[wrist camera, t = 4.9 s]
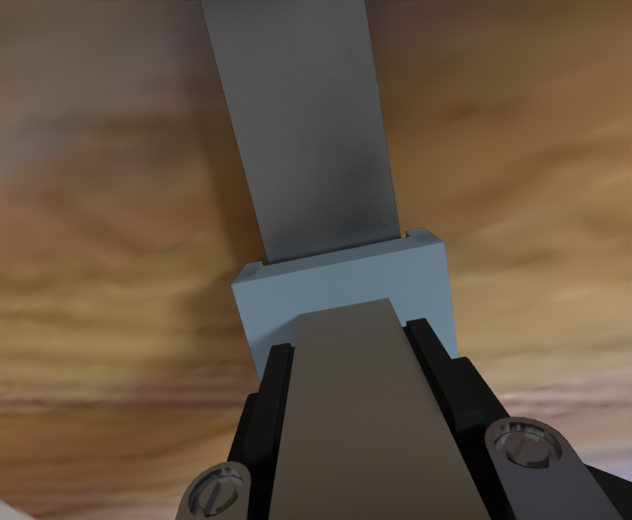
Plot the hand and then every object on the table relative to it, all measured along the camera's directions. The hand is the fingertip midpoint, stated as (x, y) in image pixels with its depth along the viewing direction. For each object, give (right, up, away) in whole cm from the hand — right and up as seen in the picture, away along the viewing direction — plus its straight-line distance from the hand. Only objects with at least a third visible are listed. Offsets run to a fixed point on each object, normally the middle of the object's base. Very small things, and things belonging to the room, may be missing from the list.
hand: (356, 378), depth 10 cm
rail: (-1, +6, +4) cm, 7 cm away
